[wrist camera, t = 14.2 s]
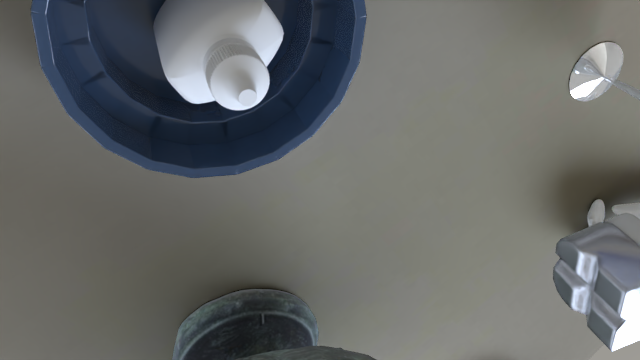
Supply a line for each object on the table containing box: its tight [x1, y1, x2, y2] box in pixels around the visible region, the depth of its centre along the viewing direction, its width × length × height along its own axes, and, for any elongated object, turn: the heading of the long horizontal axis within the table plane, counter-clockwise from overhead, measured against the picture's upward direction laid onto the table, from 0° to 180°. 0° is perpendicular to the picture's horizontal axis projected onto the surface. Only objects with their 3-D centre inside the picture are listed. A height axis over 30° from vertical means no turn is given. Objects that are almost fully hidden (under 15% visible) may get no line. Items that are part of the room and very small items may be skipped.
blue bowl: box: [31, 0, 367, 178], centre depth 27 cm, size 15×15×6 cm
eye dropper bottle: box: [153, 0, 284, 111], centre depth 24 cm, size 4×6×12 cm
